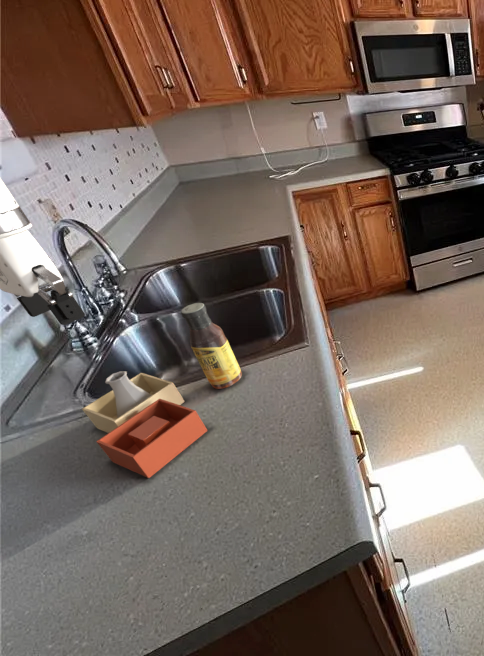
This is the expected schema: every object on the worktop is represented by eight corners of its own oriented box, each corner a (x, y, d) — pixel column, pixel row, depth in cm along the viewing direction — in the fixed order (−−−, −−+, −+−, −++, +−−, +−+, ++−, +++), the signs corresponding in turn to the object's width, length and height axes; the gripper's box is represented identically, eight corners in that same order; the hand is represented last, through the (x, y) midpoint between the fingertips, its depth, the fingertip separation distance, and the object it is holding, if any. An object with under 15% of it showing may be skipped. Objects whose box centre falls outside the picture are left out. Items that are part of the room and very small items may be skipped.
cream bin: (97, 428, 84) (81, 408, 81) (153, 391, 93) (141, 372, 90) (129, 441, 80) (114, 421, 78) (184, 401, 89) (173, 382, 86)
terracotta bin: (112, 462, 76) (95, 441, 74) (172, 418, 85) (159, 398, 82) (148, 478, 72) (132, 457, 70) (207, 430, 81) (195, 410, 78)
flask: (110, 430, 82) (82, 393, 78) (130, 405, 89) (104, 369, 84) (152, 421, 84) (126, 384, 79) (168, 396, 90) (145, 360, 85)
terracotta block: (140, 450, 77) (127, 434, 75) (165, 432, 81) (153, 415, 79) (155, 457, 76) (142, 440, 74) (179, 437, 79) (168, 421, 77)
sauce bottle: (205, 389, 92) (163, 315, 83) (228, 370, 97) (191, 298, 88) (229, 392, 90) (188, 317, 81) (251, 373, 96) (215, 300, 86)
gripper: (-68, 230, 64) (4, 321, 72) (-14, 239, 58) (58, 337, 66) (-2, 213, 70) (58, 299, 78) (53, 219, 64) (112, 311, 72)
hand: (58, 316), depth 72 cm, fingers open, 9 cm apart
